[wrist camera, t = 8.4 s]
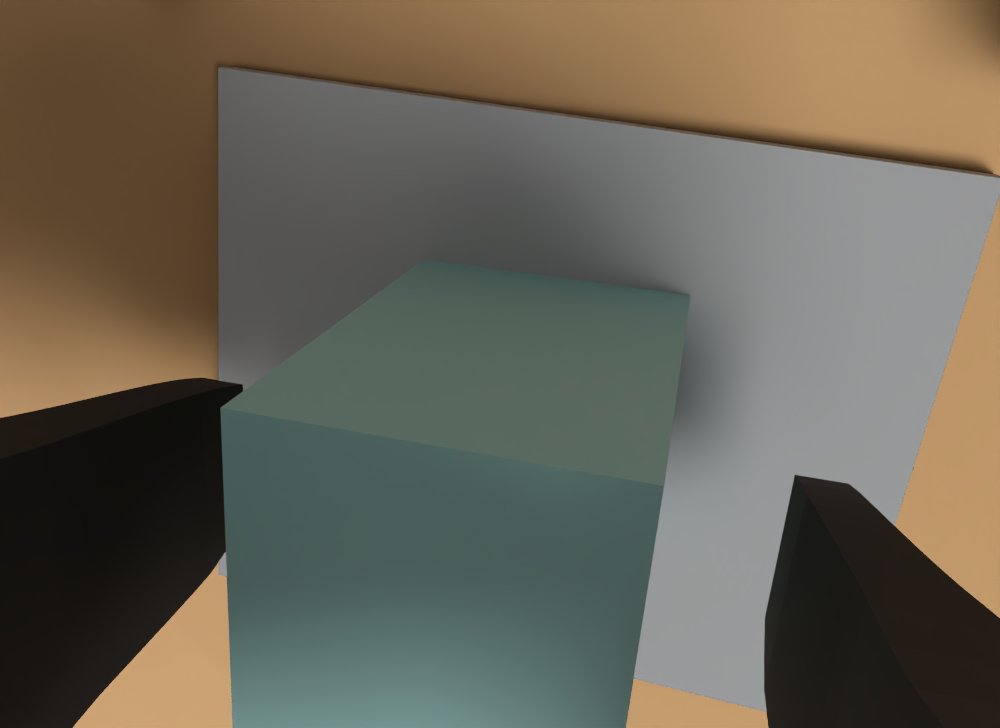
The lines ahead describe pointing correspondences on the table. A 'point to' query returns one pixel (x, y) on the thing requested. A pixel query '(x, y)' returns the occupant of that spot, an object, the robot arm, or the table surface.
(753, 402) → the slate mat
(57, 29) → the table surface
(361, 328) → the teal block
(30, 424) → the robot arm
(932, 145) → the table surface
